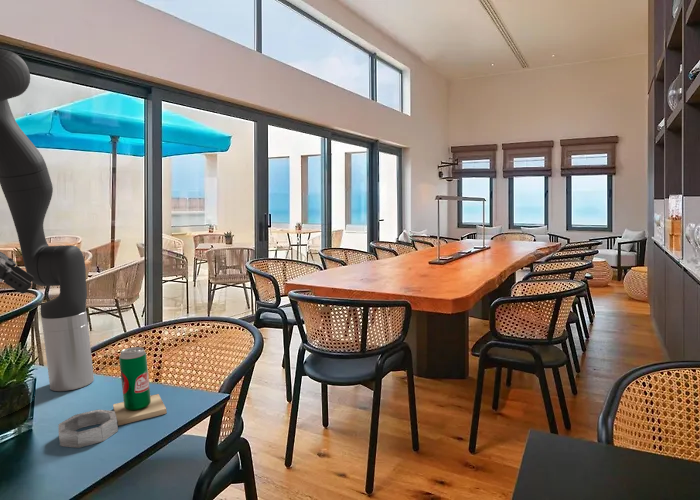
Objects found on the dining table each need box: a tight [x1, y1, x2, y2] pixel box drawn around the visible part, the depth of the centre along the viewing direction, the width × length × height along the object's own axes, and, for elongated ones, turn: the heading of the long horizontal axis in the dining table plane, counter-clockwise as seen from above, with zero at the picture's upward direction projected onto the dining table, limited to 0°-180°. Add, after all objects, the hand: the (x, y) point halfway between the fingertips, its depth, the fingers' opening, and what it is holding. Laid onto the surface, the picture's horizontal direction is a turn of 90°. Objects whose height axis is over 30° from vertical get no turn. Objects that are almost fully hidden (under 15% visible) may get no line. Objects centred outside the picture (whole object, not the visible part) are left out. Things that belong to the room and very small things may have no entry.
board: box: [112, 393, 168, 426], centre depth 102 cm, size 9×9×1 cm
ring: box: [57, 409, 119, 449], centre depth 93 cm, size 10×10×2 cm
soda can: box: [118, 346, 151, 411], centre depth 101 cm, size 5×5×12 cm
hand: (29, 285), depth 90 cm, fingers open, 8 cm apart
